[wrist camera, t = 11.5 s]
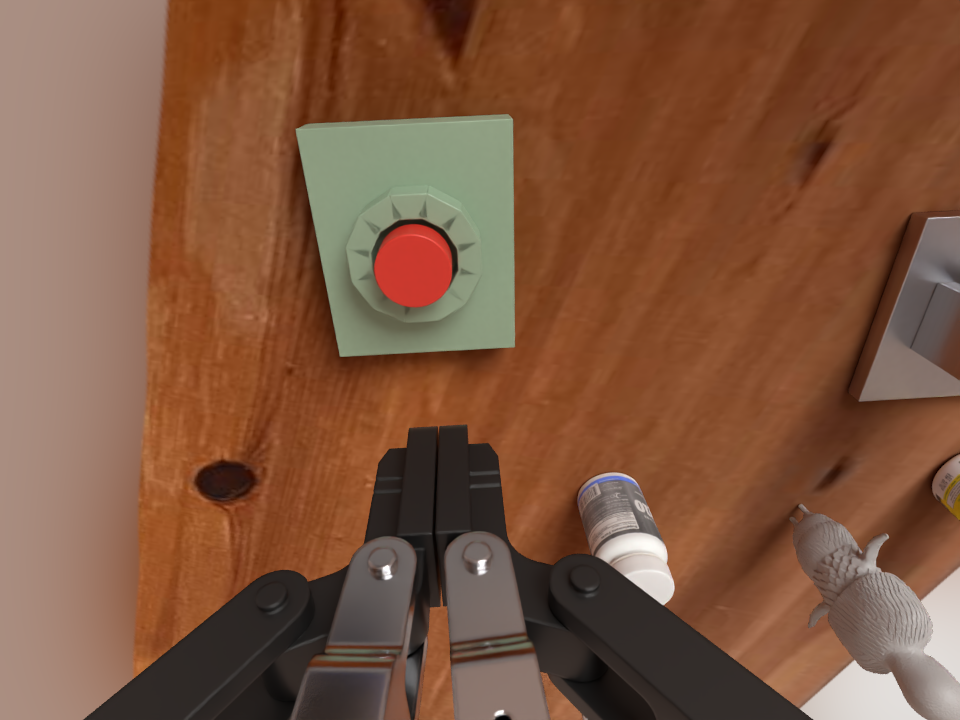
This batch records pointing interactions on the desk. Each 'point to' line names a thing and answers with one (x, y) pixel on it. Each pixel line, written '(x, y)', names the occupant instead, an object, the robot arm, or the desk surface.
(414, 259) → the red button
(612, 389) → the desk surface
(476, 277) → the button block
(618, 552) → the pill bottle
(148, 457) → the desk surface
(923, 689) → the figurine
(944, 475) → the supplement bottle
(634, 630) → the robot arm
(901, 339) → the lever stand
